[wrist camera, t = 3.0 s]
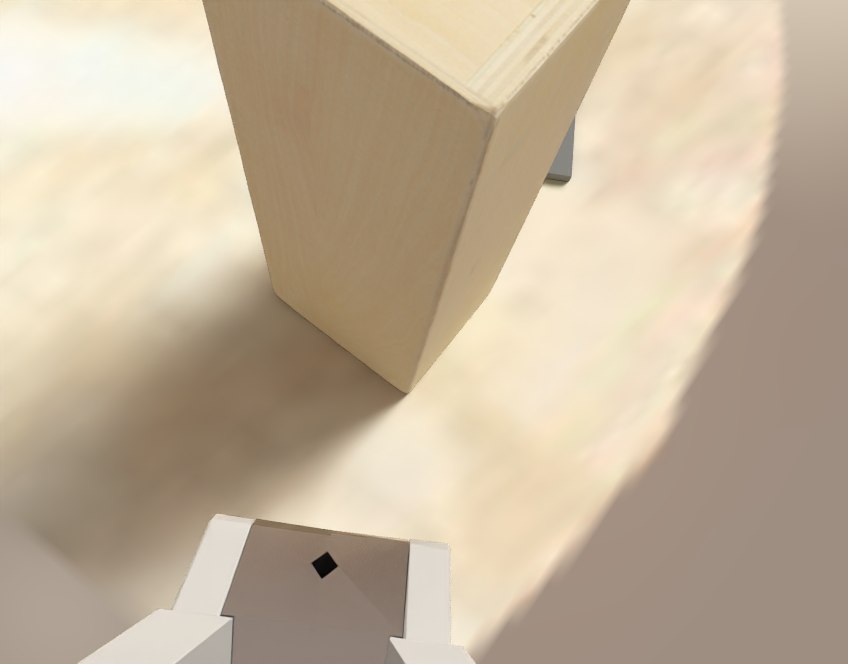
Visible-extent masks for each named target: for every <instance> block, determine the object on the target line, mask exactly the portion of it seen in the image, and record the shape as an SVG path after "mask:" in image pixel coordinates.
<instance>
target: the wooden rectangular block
mask: <svg viewBox="0 0 848 664" xmlns="http://www.w3.org/2000/svg"><path fill="white" fill-rule="evenodd" d="M202 1H203V5H204V9H205V13H206V17H207V21H208V25H209V29H210V33H211V37H212V42H213V46H214V50H215V54H216V58H217V63H218V67H219V71H220V75H221V79H222V82H223V86H224V90H225V95H226V99H227V102H228V106H229V110H230V114H231V118H232V122H233V126H234V131H235V135H236V139H237V143H238V146H239V150H240V155H241V159H242V164H243V168H244V172H245V176H246V180H247V185H248V189H249V193H250V196H251V200H252V205H253V209H254V212H255V216H256V220H257V224H258V228H259V233H260V237H261V241H262V245H263V249H264V254H265V258H266V262H267V265H268V269H269V274H270V278H271V282H272V286H273V290H274V291H275V293H276V294H277V295H278V296H279V298H280V299H282V300H283V301H284V302H285V303H287V304H288V305H289V306H290V307H291V308H293V309H294V310H295V311H297V312H298V313H299V314H301V315H302V316H303V317H304V318H306V319H307V320H308V321H310V322H311V323H312V324H313V325H315V326H316V327H317V328H319V329H320V330H321V331H322V332H324V333H325V334H326V335H328V336H329V337H330V338H332V339H333V340H334V341H336V342H337V343H338V344H339V345H341V346H342V347H343V348H345V349H346V350H347V351H349V352H350V353H351V354H352V355H354V356H355V357H356V358H358V359H359V360H360V361H362V362H363V363H364V364H365V365H367V366H368V367H369V368H371V369H372V370H373V371H374V372H376V373H377V374H378V375H380V376H381V377H382V378H384V379H385V380H386V381H388V382H389V383H390V384H392V385H393V386H394V387H396V388H397V389H399V390H400V391H402V392H404V393H410V392H411V390H412V389H413V388H414V387H415V386H416V384H417V383H418V382H419V381H420V379H421V378H422V377H423V376H424V374H425V373H426V372H427V371H428V369H429V368H430V367H431V366H432V364H433V363H434V362H435V361H436V359H437V358H438V357H439V356H440V354H441V353H442V352H443V351H444V350H445V348H446V347H447V346H448V345H449V343H450V342H451V341H452V339H453V338H454V337H455V336H456V334H457V333H458V332H459V331H460V330H461V328H462V327H463V326H464V324H465V323H466V322H467V321H468V319H469V318H470V317H471V316H472V315H473V313H474V312H475V311H476V310H477V308H478V307H479V306H480V305H481V303H482V302H483V301H484V299H485V298H486V297H487V296H488V294H489V293H490V291H491V289H492V287H493V285H494V284H495V282H496V280H497V278H498V275H499V273H500V271H501V269H502V267H503V265H504V263H505V261H506V259H507V257H508V255H509V253H510V251H511V249H512V247H513V245H514V243H515V241H516V239H517V236H518V234H519V232H520V230H521V228H522V226H523V224H524V222H525V220H526V218H527V216H528V214H529V211H530V209H531V207H532V205H533V203H534V201H535V199H536V197H537V195H538V193H539V190H540V188H541V186H542V184H543V182H544V180H545V178H546V176H547V173H548V171H549V169H550V167H551V165H552V163H553V161H554V159H555V157H556V155H557V153H558V151H559V148H560V146H561V144H562V142H563V140H564V138H565V135H566V133H567V131H568V129H569V127H570V125H571V123H572V121H573V119H574V117H575V115H576V113H577V111H578V109H579V106H580V104H581V102H582V100H583V98H584V96H585V94H586V92H587V90H588V88H589V86H590V84H591V82H592V80H593V77H594V75H595V73H596V71H597V69H598V67H599V65H600V63H601V61H602V59H603V56H604V54H605V52H606V50H607V48H608V46H609V44H610V42H611V40H612V38H613V36H614V34H615V32H616V30H617V27H618V25H619V23H620V21H621V19H622V17H623V15H624V13H625V11H626V8H627V6H628V4H629V2H630V0H202Z"/></svg>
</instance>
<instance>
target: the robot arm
mask: <svg viewBox="0 0 848 664" xmlns="http://www.w3.org/2000/svg"><path fill="white" fill-rule="evenodd" d="M77 664H476V663H475V662H474V661H473V659H472V658H471V657H470V655H469V654H468V652H467V651H466V650H465V648H464V647H462V646H456V645H451V559H450V547H449V545H448V543H441V542H431V541H422V540H413V539H410V540H409V541H408V540H406V539H398V538H390V537H382V536H374V535H365V534H357V533H349V532H341V531H333V530H326V529H320V528H313V527H307V526H300V525H293V524H287V523H280V522H274V521H267V520H261V519H256V520H254V519H249V518H243V517H236V516H230V515H223V514H217V513H216V514H215V515H214V517H213V518H212V519H211V520H210V521H209V523H208V525H207V527H206V530H205V532H204V534H203V537H202V539H201V541H200V544H199V546H198V548H197V550H196V553H195V555H194V557H193V560H192V562H191V564H190V567H189V569H188V571H187V573H186V576H185V578H184V580H183V583H182V585H181V587H180V590H179V592H178V594H177V597H176V599H175V601H174V603H173V606H172V608H171V610H167V609H157V610H155V611H154V612H152V613H151V614H149V615H148V616H146V617H145V618H144V619H142V620H141V621H139V622H138V623H136V624H135V625H133V626H132V627H130V628H129V629H127V630H126V631H125V632H123V633H121V634H120V635H119V636H117V637H115V638H114V639H113V640H111V641H110V642H108V643H107V644H105V645H104V646H102V647H101V648H99V649H98V650H96V651H95V652H93V653H92V654H90V655H89V656H87V657H86V658H84V659H83V660H81V661H80V662H78V663H77Z"/></svg>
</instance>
